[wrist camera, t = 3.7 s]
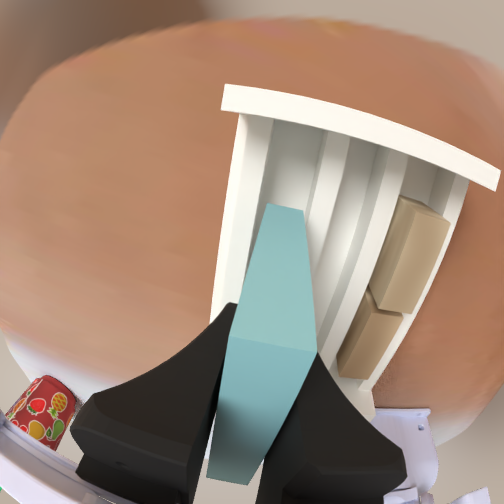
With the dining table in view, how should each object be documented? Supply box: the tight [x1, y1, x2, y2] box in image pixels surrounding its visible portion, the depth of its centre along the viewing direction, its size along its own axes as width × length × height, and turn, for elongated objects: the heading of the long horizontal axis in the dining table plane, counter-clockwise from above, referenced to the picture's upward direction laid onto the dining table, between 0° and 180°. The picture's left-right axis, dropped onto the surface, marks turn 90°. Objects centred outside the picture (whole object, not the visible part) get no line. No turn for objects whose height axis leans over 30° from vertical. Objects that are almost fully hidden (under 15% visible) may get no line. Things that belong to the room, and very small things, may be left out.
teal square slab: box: [206, 203, 317, 485], centre depth 11 cm, size 2×8×8 cm, turn 170°
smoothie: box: [0, 375, 76, 491], centre depth 20 cm, size 8×8×20 cm
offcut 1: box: [336, 284, 404, 380], centre depth 16 cm, size 2×5×3 cm, turn 170°
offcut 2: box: [368, 195, 451, 314], centre depth 14 cm, size 2×5×4 cm, turn 170°
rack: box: [210, 84, 501, 422], centre depth 15 cm, size 12×17×5 cm
